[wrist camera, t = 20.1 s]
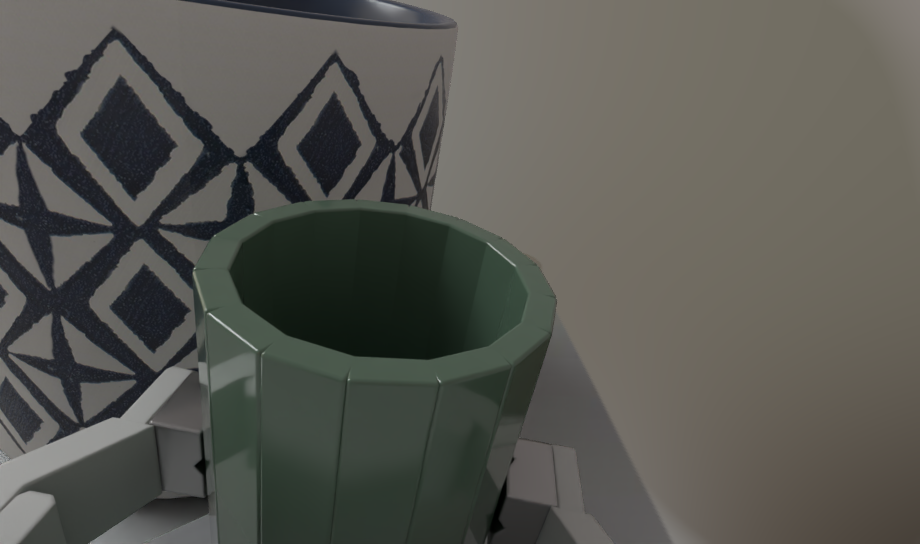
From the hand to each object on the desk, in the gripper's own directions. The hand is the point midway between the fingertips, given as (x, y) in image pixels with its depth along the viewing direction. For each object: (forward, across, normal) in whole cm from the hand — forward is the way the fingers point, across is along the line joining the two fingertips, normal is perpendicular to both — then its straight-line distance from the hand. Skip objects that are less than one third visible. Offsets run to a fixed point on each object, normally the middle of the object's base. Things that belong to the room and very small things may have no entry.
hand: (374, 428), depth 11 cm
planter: (+12, -10, -9) cm, 18 cm away
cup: (-1, 0, -6) cm, 6 cm away
